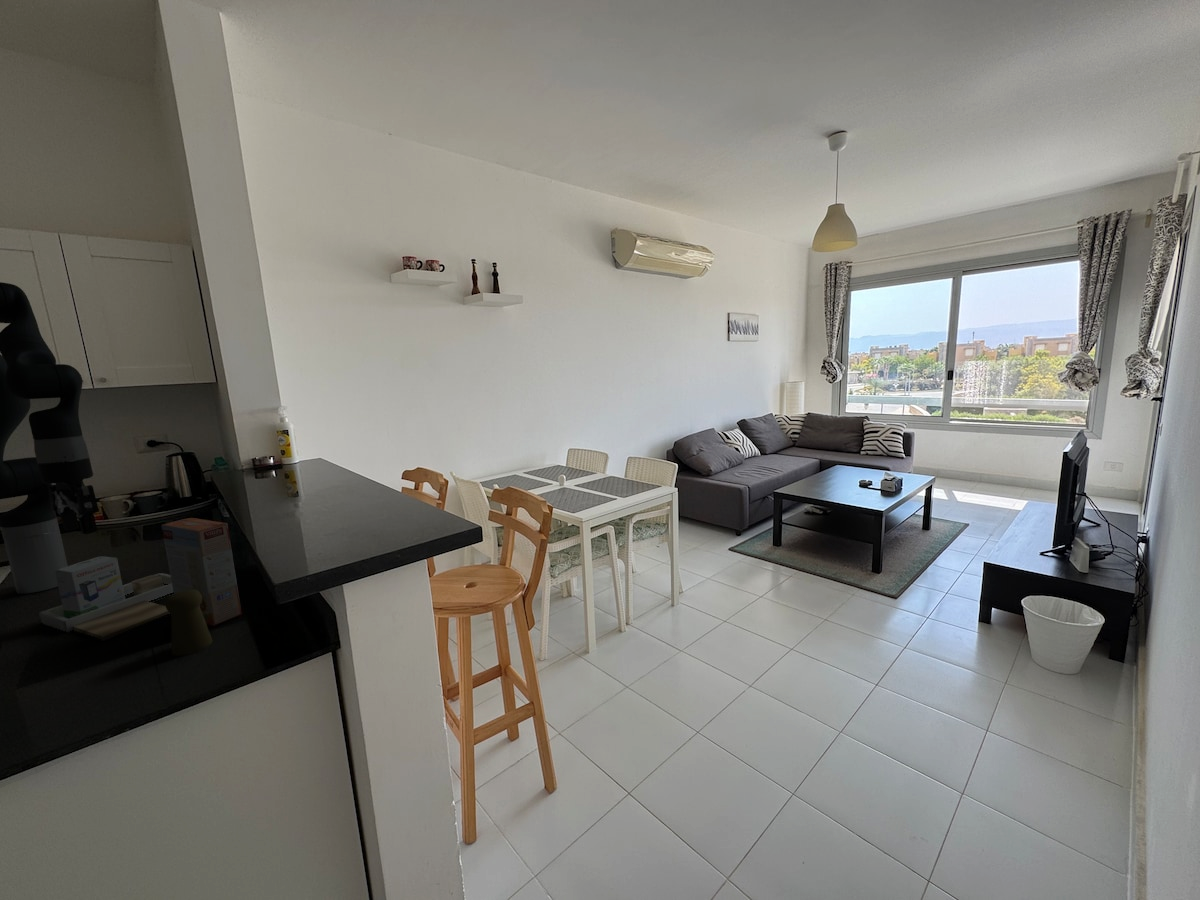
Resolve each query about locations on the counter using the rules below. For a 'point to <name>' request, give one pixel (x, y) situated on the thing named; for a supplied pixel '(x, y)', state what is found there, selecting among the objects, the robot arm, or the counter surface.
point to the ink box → (89, 585)
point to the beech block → (146, 584)
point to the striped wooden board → (121, 619)
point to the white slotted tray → (59, 621)
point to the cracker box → (203, 565)
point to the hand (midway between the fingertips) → (80, 531)
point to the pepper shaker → (187, 623)
